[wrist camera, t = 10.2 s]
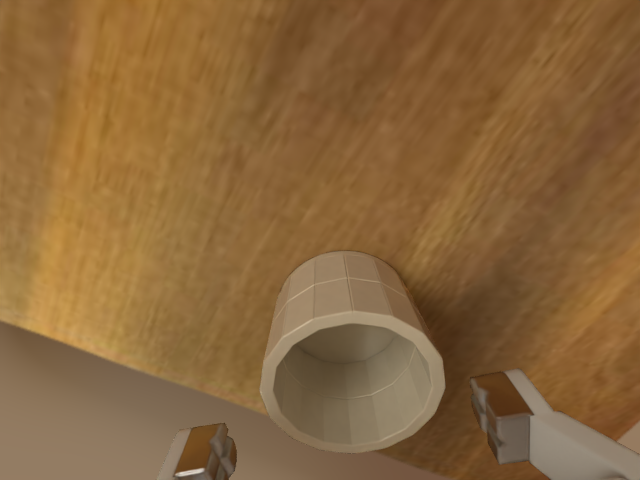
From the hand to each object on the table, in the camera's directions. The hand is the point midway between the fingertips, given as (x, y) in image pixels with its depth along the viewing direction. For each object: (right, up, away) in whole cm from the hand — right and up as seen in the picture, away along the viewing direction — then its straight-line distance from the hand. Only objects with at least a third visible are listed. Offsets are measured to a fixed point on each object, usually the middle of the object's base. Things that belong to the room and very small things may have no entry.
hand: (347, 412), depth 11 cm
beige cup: (0, +2, +6) cm, 6 cm away
